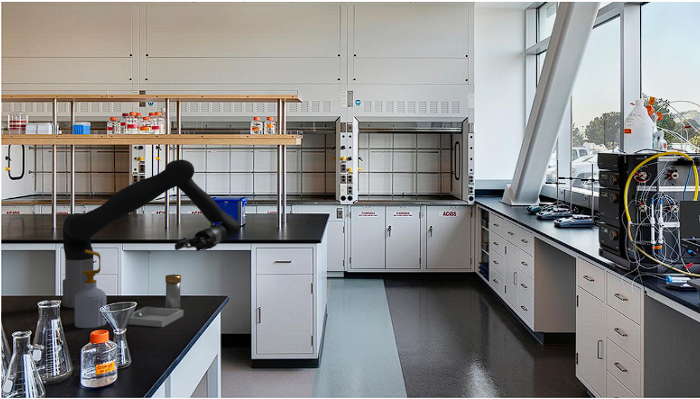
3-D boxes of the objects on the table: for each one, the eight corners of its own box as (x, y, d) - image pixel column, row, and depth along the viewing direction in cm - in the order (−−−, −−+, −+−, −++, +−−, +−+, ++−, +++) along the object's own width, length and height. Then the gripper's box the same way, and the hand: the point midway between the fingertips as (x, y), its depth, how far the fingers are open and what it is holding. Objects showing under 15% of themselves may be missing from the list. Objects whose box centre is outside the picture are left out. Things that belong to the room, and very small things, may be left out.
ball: (131, 322, 185) (131, 313, 184) (136, 319, 187) (136, 310, 187) (139, 323, 184) (139, 313, 184) (144, 320, 187) (144, 311, 187)
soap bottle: (75, 324, 184) (75, 248, 182) (106, 321, 188) (106, 247, 186) (74, 332, 176) (73, 252, 174) (106, 329, 179) (106, 251, 178)
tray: (121, 326, 183) (121, 317, 183) (145, 315, 197) (145, 306, 197) (162, 330, 180) (162, 320, 180) (183, 318, 194) (183, 309, 194)
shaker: (162, 313, 199) (162, 276, 198) (169, 310, 204) (170, 274, 203) (176, 315, 198) (176, 277, 197) (183, 311, 203) (183, 275, 202)
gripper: (190, 228, 225) (168, 237, 210) (224, 229, 222) (203, 238, 206) (192, 246, 226) (169, 257, 211) (225, 248, 223) (204, 258, 207)
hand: (186, 247), depth 209 cm, fingers open, 8 cm apart
